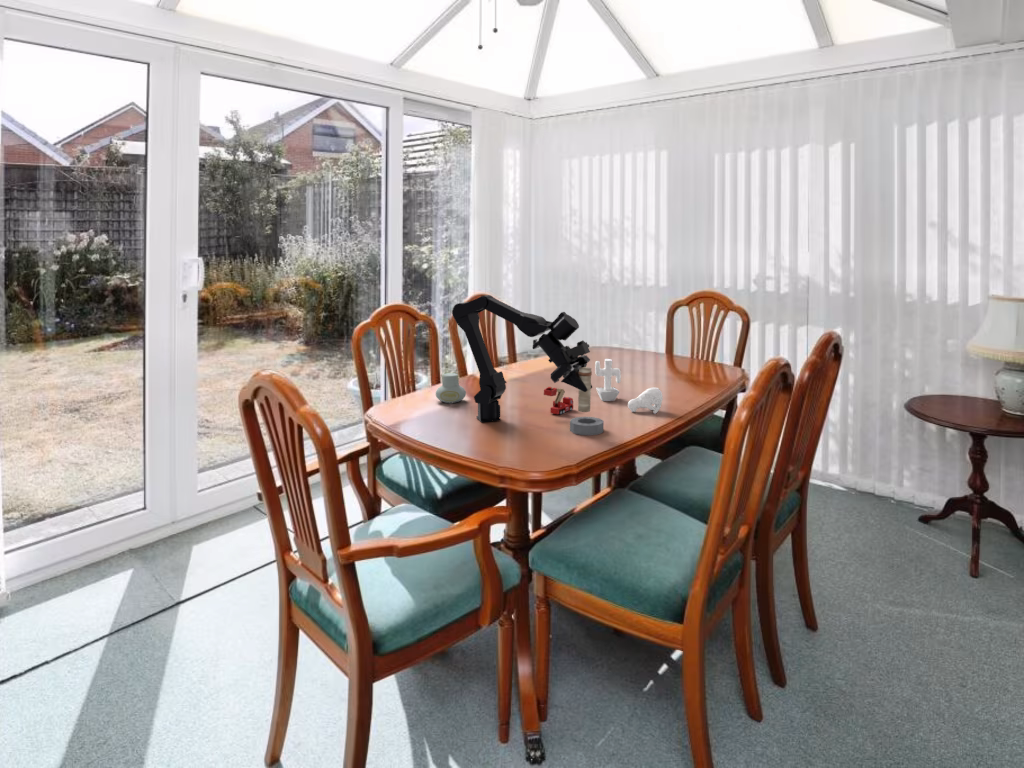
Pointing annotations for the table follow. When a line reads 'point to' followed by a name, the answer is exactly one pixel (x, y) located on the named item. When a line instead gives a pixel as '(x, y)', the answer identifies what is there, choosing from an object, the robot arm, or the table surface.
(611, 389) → the figurine
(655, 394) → the white animal statue
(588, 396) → the birch peg
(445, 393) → the air freshener
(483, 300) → the robot arm
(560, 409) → the toy fire truck
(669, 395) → the table surface
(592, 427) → the grey ring
